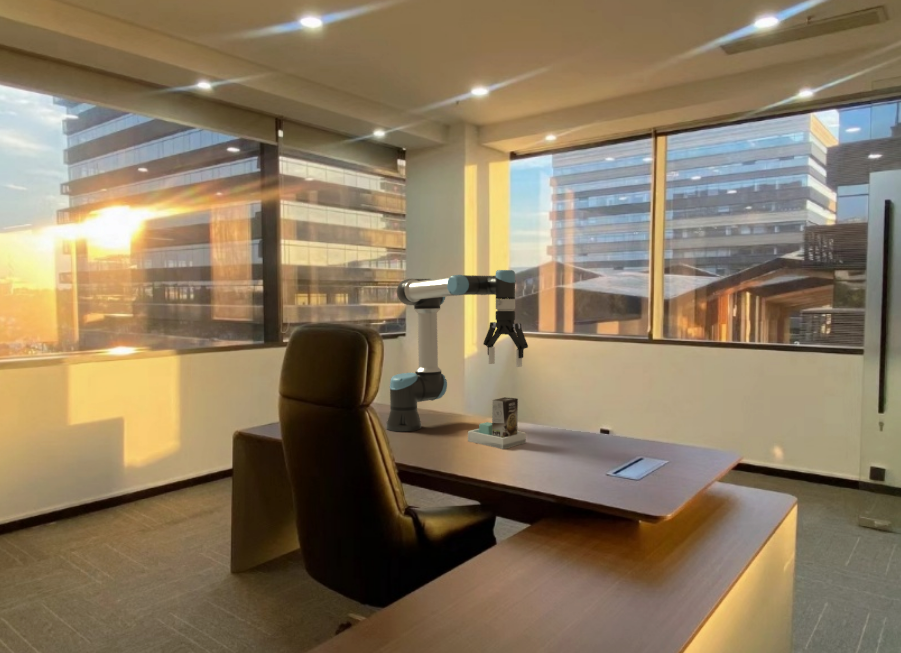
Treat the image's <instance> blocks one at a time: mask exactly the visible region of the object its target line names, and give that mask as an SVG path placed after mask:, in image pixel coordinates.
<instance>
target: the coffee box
mask: <svg viewBox="0 0 901 653" xmlns="http://www.w3.org/2000/svg"><path fill="white" fill-rule="evenodd" d="M518 402H519V399H518V398H516V397H501V398H495V399H492V404H491V405H492V406H491V407H492V408H491V409H492V410H491V411H492V412H491V414H492V415H491V418H492V419H491V421H492V422H491V423H492V436H497V437H501V438H504V437H508V436H512V435H516V434H517V431H518V426H519V424H518V419H519V418H518V416H519V414H518V413H519V412H518V410H519V409H518V408H519V407H518V406H519V405H518V404H519V403H518Z"/></svg>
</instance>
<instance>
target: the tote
mask: <svg viewBox="0 0 901 653" xmlns="http://www.w3.org/2000/svg"><path fill="white" fill-rule="evenodd" d="M467 442H469V443H470V442H471V443H475V444H478V445H482V446H487V447H488V446H489V447H492V448H495V449H496V448H497V449H501V450H505V449H509V448H513V447H516V446H519V445H522V444H526V443H527V432H524V431H519V430H517V434H516V435H512V436H508V437H504V438H501V437H497V436H492V435H487V434H482V433H479V428H475V429H472V430H468V431H467Z"/></svg>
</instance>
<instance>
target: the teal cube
mask: <svg viewBox="0 0 901 653" xmlns="http://www.w3.org/2000/svg"><path fill="white" fill-rule="evenodd" d="M478 425H479V426H478V427H479V428H478V429H479V433H482V434H487V435H492V422H489V421H486V422H482V423H481V422H480V423H479V424H478Z"/></svg>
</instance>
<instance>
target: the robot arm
mask: <svg viewBox="0 0 901 653" xmlns="http://www.w3.org/2000/svg"><path fill="white" fill-rule="evenodd" d="M515 272H516V271H514V270H512V269H498V270H496V271H495V275H470V274H469V275H466V274H464V275H463V274H454V275H451V276H447V277H439V278H407V279H406V278H405V279H404V280H402V281H401V282H400V283H398V285H397V289H396V296H397V298H398V300H399V301H400V302H401V303H402V304H405V305H407V306H413V308H414V309H413V310H414V311H415V312H416V313H417V338H418V339H417V340H418V341H417V344H418V346H417V347H418V348H417V349H418V354H417V355H418V356H417V357H418V367H417V368H416V369H415V371H414V372H415V373H414V372H405V373H404V372H402V373H397V374H394V375H392V377H391V378H390V382H389V383H390V384H389V391H390V392H389V397H390V398H389V407H390V408H389V414H388V416H387V421H386V424H385V427H386V428H387V429H386V430H388V431H392V432H413V431H418V430H421V429H422V421H421V420H420V419H421V417H420V414H419V412H418V403H420V402H426V401H429V402H430V401H435V400H438V399H441V398H443V396H445V394H446V392H447V389H448V382H447V381H448V380H447V379H446V375H444V373H442V369H441V368H440V367H439V357H438V354H439V352H438V349H439V348H438V347H439V346H438V345H439V344H438V312H439V311H440V310H441V305H442V304H443V303H444V302H445V300H446V297H454V296H456V297H457V296H464V295H465V296H467V295H468V296H469V295H470V296H471V295H472V296H476V295H477V296H479V295H480V296H486V295H488V296H489V295H490V296H491V295H495V320H496V321H494V322H493V321H492V322H489V328H488V331H487V333H486V336H485V338H484V339H483V340H484V341H483V346H486V348H487V356H488V364H489V365H493V364H495V360H496V359H495V358H496V357H495V355H496V354H495V352H496V351H495V350H496V348H495V346H494V345H495V344H496V343H497V341H498V339H499V338H500V337H501V336H502V335H508V337H510V339H511V340H512V343H513V344H514V345H515V347H516V350H515V368H520V367H522V366H523V358H524V349H528V348H529V345H528V342H527V339H526V336H525V334H524V332H523V329H522V323H521V322H520V323H519V322H517V323H515V320H516V311H515V310H516V273H515Z"/></svg>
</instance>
